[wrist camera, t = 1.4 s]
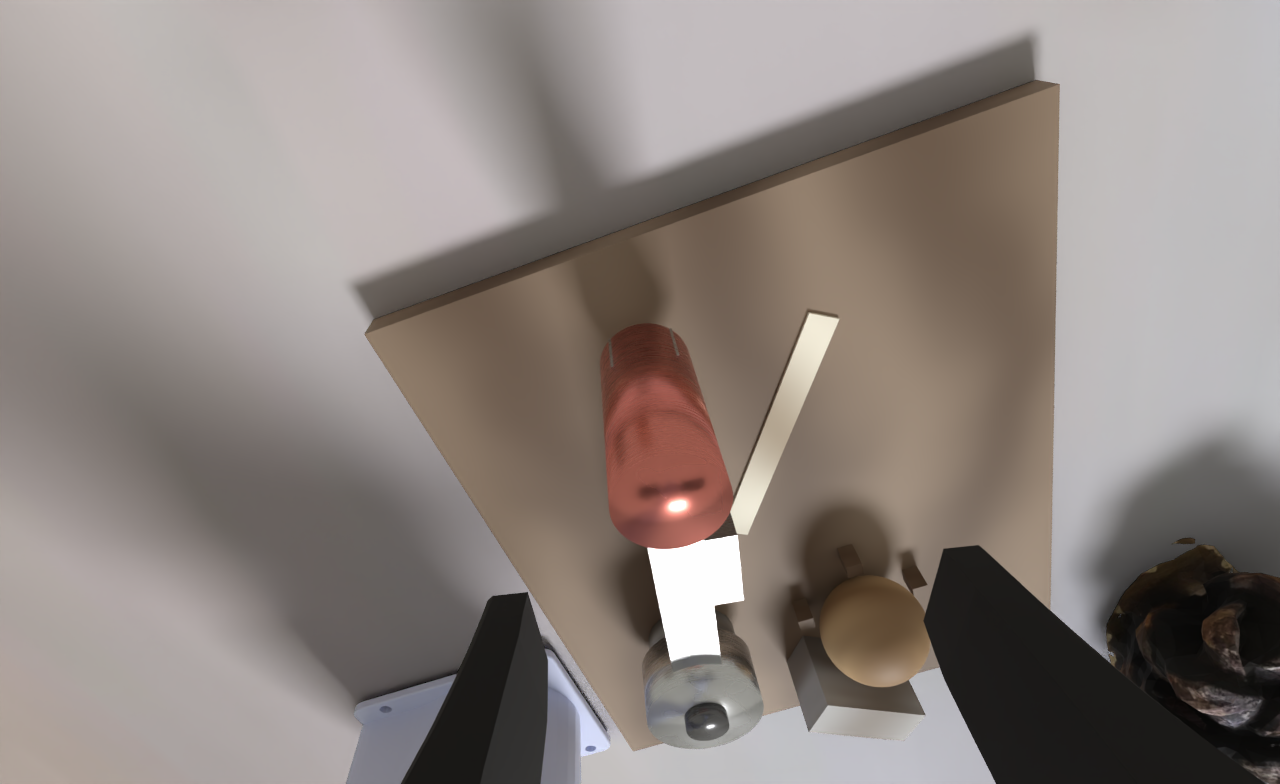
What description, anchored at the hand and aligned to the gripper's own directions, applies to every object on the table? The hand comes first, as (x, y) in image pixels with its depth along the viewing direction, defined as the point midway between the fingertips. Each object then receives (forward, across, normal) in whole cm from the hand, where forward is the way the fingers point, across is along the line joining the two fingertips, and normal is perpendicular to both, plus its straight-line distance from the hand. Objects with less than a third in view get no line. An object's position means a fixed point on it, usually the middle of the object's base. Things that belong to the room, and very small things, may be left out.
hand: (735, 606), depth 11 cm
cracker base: (+10, -3, +8) cm, 14 cm away
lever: (+8, +1, +8) cm, 11 cm away
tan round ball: (+9, -7, +13) cm, 17 cm away
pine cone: (+10, -24, +22) cm, 34 cm away
